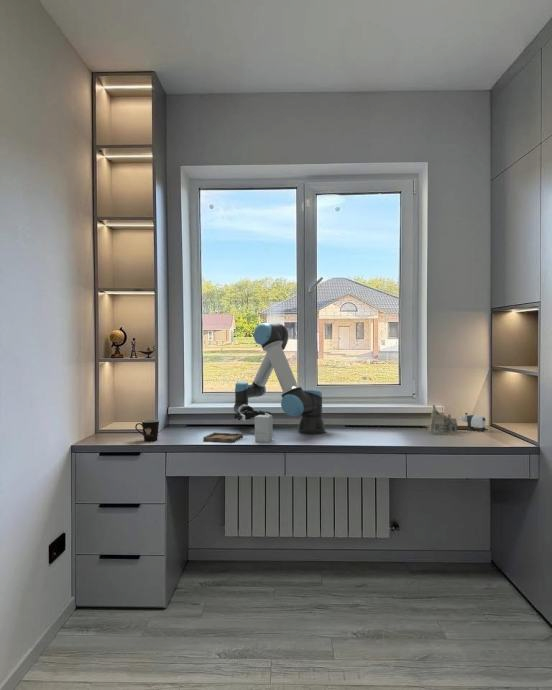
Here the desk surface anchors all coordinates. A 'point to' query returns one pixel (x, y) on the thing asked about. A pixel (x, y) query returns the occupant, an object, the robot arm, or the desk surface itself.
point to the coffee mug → (149, 430)
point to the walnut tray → (222, 437)
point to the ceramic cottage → (442, 424)
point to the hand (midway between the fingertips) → (257, 417)
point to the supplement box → (263, 428)
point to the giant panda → (474, 421)
